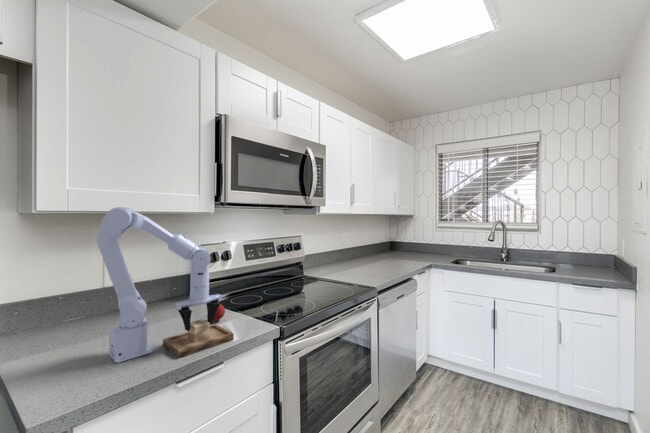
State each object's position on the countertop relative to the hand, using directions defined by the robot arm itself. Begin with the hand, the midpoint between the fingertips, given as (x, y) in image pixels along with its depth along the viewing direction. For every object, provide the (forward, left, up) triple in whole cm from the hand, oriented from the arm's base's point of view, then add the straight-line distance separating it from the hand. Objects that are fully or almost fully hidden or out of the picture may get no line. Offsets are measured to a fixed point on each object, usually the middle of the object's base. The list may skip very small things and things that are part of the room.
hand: (199, 326), depth 101 cm
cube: (0, 0, -4) cm, 4 cm away
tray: (0, 0, -5) cm, 5 cm away
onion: (+14, +14, -6) cm, 21 cm away
